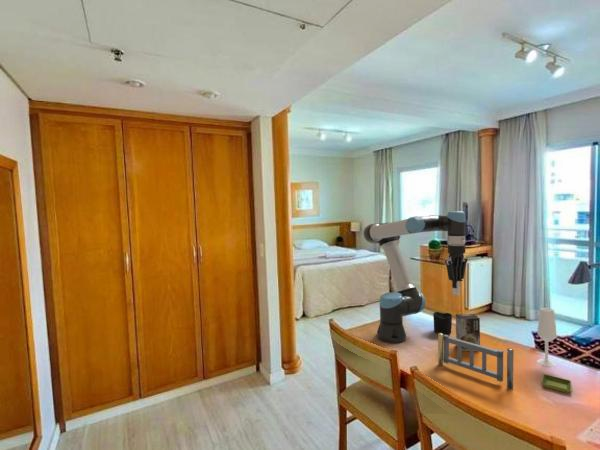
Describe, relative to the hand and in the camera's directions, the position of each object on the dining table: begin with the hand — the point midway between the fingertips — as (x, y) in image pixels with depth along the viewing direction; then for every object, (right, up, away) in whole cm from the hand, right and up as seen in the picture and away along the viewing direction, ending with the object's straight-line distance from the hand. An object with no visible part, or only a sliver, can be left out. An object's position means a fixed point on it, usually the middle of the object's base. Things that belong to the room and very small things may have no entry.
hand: (456, 294), depth 152 cm
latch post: (-11, -29, -9) cm, 32 cm away
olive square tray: (+25, -30, -27) cm, 48 cm away
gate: (-2, -28, -17) cm, 33 cm away
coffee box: (+9, -28, +7) cm, 30 cm away
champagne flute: (+35, -28, -10) cm, 46 cm away
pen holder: (+6, -27, +27) cm, 39 cm away
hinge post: (+7, -30, -28) cm, 41 cm away
